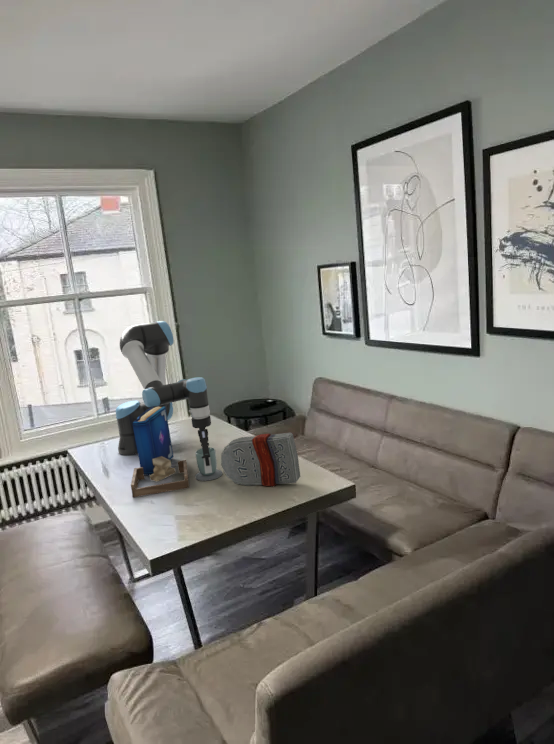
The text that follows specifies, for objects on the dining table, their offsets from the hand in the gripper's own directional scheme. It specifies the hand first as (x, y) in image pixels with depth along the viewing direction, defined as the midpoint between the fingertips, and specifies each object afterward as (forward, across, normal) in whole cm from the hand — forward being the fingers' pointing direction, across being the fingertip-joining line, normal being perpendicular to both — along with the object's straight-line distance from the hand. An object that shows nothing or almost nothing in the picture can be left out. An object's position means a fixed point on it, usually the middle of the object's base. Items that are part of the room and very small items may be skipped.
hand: (207, 467), depth 225 cm
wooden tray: (+4, 0, -19) cm, 19 cm away
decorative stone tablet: (+4, +18, +19) cm, 26 cm away
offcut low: (+4, -8, -19) cm, 21 cm away
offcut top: (-1, -8, -18) cm, 20 cm away
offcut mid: (+2, -8, -19) cm, 21 cm away
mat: (+4, 0, 0) cm, 4 cm away
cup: (+3, 0, 0) cm, 3 cm away
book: (+4, -20, -21) cm, 30 cm away
